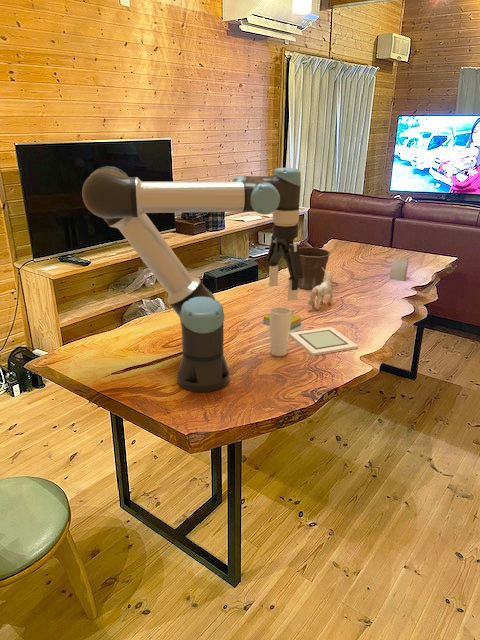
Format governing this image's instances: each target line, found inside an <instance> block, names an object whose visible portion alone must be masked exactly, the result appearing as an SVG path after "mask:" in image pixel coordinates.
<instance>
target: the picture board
mask: <svg viewBox="0 0 480 640" xmlns="http://www.w3.org/2000/svg"><path fill="white" fill-rule="evenodd" d="M289 338H290V339H292V340H293V341H295V342H296V343H297V344H298V345H299V346H300V347H301V348H302V349H304V350H305V351H306V352H307V353H308V354H309V355H311V357H316V356H315V355H317V356H322V355H321V354H323V355H327V354H326V353H329V354H332V353H331V352H335V353H339V352H338V351H341V352H344V351H343V350H346V351H351V350H350V349H352V350H357V349H356V348H359V345H357V344H356V343H355V342H354V341H352V340H350V339H349V338H348V337H347V336H345V335H343V334H342V333H341V332H339V331H338V330H336V329H335V328H334V327H333V326H327V327H321V328H314V329H306V330H302V331H296V332H293V333H289Z"/></svg>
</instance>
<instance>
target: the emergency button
mask: <svg viewBox="0 0 480 640" xmlns="http://www.w3.org/2000/svg"><path fill="white" fill-rule="evenodd" d="M301 322H302V319H301V317H300V316H297V315H294V314H291V327H290V333H293V332H299V330H302V329H303V328H306V325H305V324H303V323H301ZM260 323H261V324H263V325H266V326H269V327H270V313H267V314H265V315H264V316H263V320H260Z"/></svg>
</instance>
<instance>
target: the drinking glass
mask: <svg viewBox="0 0 480 640" xmlns="http://www.w3.org/2000/svg"><path fill="white" fill-rule="evenodd" d="M269 314H270V326H269V338H270V354H271V355H272V356H274V357H284V356H286V355H287V354H288V346H289V338H290V336H289V333H290V327H291V315H292V309H290V308H289V307H285V306H276V307H275V306H274V307H272V308H271V309H270V311H269Z"/></svg>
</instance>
